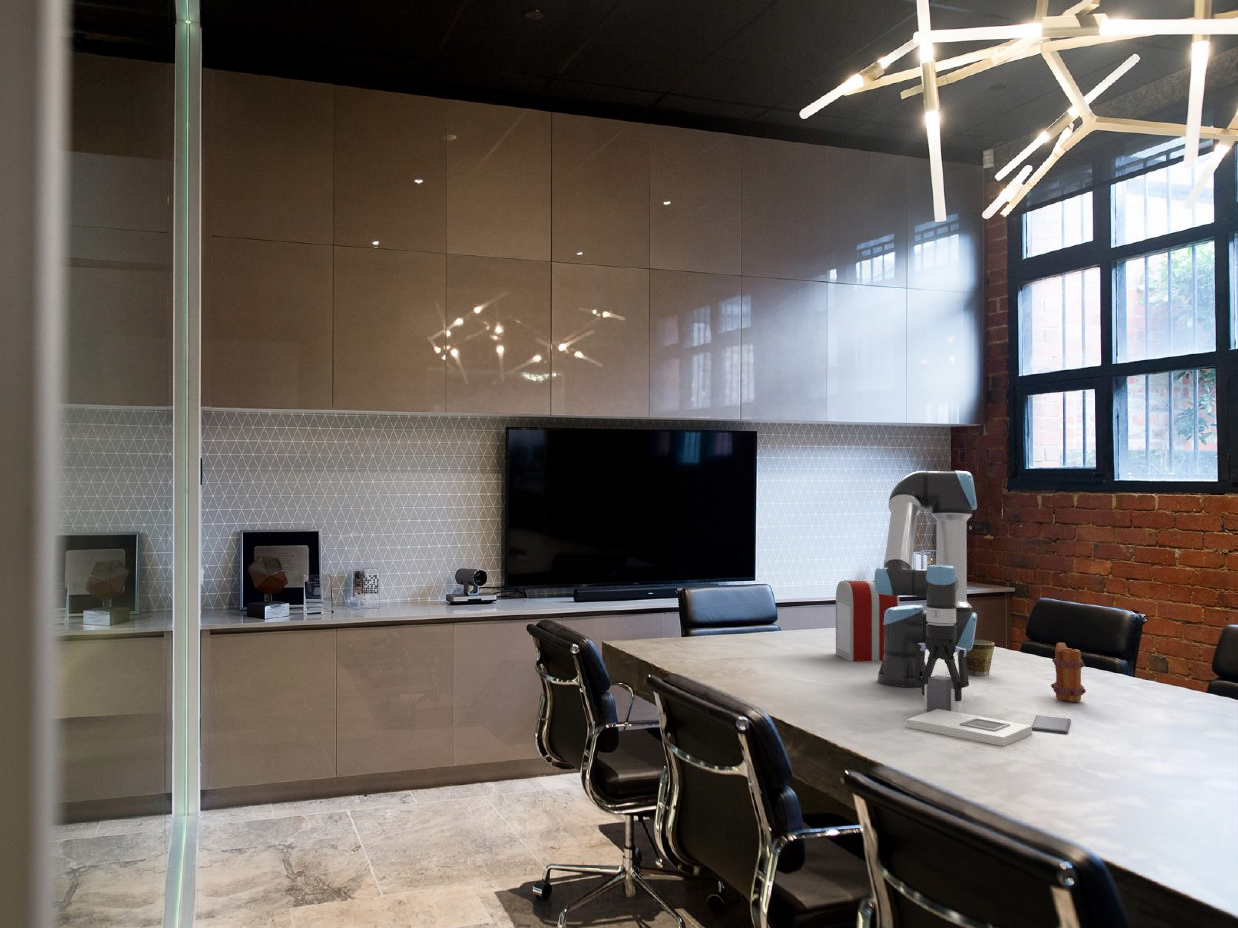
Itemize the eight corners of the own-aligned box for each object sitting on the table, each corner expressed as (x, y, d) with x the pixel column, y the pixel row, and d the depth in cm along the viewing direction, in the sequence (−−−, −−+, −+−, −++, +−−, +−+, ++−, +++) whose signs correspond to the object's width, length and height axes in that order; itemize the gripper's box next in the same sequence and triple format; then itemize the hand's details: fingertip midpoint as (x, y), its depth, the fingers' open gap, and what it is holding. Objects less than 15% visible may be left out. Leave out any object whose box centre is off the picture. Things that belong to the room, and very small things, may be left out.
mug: (1088, 704, 260) (1088, 649, 261) (1057, 703, 262) (1056, 648, 262) (1074, 693, 275) (1074, 641, 275) (1044, 692, 276) (1044, 640, 277)
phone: (1031, 732, 232) (1031, 726, 232) (1036, 719, 245) (1036, 714, 245) (1067, 736, 228) (1067, 730, 228) (1070, 723, 242) (1070, 718, 242)
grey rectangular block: (928, 711, 251) (928, 676, 251) (937, 708, 255) (936, 674, 255) (946, 714, 248) (945, 679, 248) (954, 711, 251) (954, 676, 251)
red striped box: (834, 653, 341) (834, 578, 342) (882, 652, 343) (881, 577, 344) (850, 661, 325) (850, 582, 326) (900, 660, 327) (900, 582, 328)
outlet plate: (907, 727, 234) (907, 717, 234) (937, 716, 245) (937, 707, 246) (1003, 746, 217) (1003, 735, 217) (1031, 733, 228) (1031, 724, 229)
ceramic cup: (1001, 674, 304) (1000, 642, 304) (982, 677, 298) (981, 645, 298) (966, 667, 314) (965, 637, 315) (947, 670, 309) (946, 640, 309)
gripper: (900, 621, 256) (900, 706, 255) (970, 628, 242) (971, 719, 241) (913, 618, 261) (913, 702, 261) (983, 626, 247) (983, 715, 247)
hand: (941, 710), depth 251 cm, fingers open, 7 cm apart
